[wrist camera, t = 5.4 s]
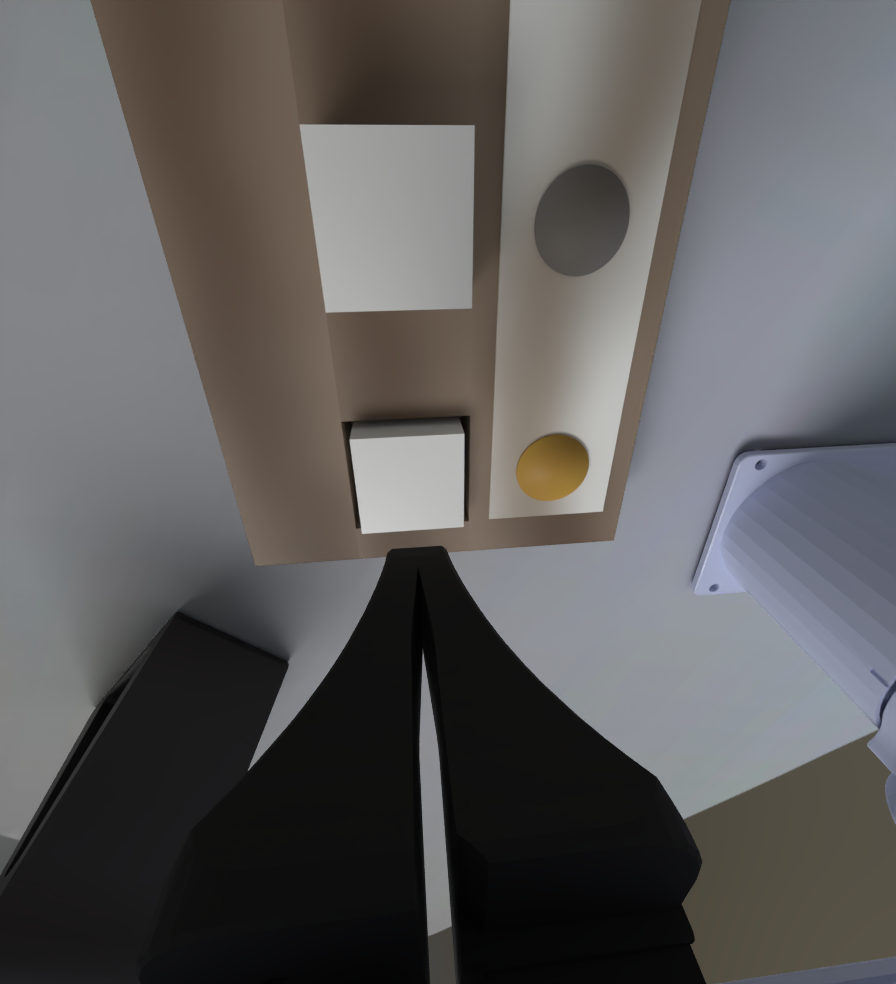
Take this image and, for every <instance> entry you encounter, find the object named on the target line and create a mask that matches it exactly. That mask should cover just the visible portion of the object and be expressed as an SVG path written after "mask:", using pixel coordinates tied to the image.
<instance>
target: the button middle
mask: <svg viewBox="0 0 896 984" xmlns="http://www.w3.org/2000/svg"><path fill="white" fill-rule="evenodd" d="M299 125H300V132H301V139H302V146H303V154H304V161H305V168H306V175H307V182H308V189H309V196H310V204H311V211H312V218H313V225H314V232H315V239H316V247H317V254H318V261H319V268H320V275H321V282H322V290H323V297H324V304H325V311H326V313H329V312H365V311H400V310H435V309H471V308H472V277H473V208H474V140H475V125H306V124H299Z"/></svg>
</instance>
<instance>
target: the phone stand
mask: <svg viewBox="0 0 896 984" xmlns="http://www.w3.org/2000/svg"><path fill="white" fill-rule="evenodd" d="M288 666H289V664H288V663H287V662H285V661H282V660H280V659H278V658H276V657H273V656H271V655H269V654H267V653H265V652H262V651H260V650H258V649H256V648H254V647H251V646H249V645H247V644H245V643H242V642H240V641H238V640H236V639H234V638H231V637H229V636H227V635H225V634H222V633H220V632H218V631H216V630H214V629H211V628H209V627H207V626H205V625H202V624H200V623H198V622H196V621H194V620H191V619H189V618H187V617H185V616H182V615H180V614H178V613H175V614H174V615H173V616H172V617H171V619H170V620H169V621H168V622H167V623H166V625H165V626H164V627H163V628H162V629H161V631H160V632H159V633H158V634H157V635H156V637H155V638H154V639H153V640H152V641H151V643H150V644H149V645H148V646H147V647H146V648H145V650H144V651H143V652H142V653H141V654H140V656H139V657H138V658H137V659H136V660H135V662H134V664H133V665H131V666H130V668H129V669H128V670H127V671H126V672H125V674H124V675H123V676H122V677H121V678H120V680H119V681H118V682H117V683H116V684H115V686H114V687H113V688H112V689H111V690H110V692H109V693H108V694H107V695H106V696H105V698H104V699H103V700H102V701H101V702H100V704H99V705H98V706H97V707H96V709H95V710H94V711H93V713H92V714H91V716H90V718H89V719H88V721H87V723H86V725H85V726H84V728H83V730H82V732H81V734H80V735H79V737H78V739H77V741H76V742H75V744H74V746H73V748H72V749H71V751H70V753H69V755H68V756H67V758H66V760H65V762H64V764H63V765H62V767H61V769H60V771H59V772H58V774H57V776H56V778H55V779H54V781H53V783H52V785H51V786H50V788H49V790H48V792H47V794H46V795H45V797H44V799H43V801H42V802H41V804H40V806H39V808H38V809H37V811H36V813H35V815H34V817H33V818H32V820H31V822H30V824H29V825H28V827H27V829H26V831H25V832H24V834H23V836H22V838H21V839H20V841H19V843H18V845H17V847H16V848H15V850H14V852H13V854H12V855H11V857H10V859H9V861H8V863H7V864H6V866H5V868H4V870H3V871H2V873H1V875H0V984H141V983H140V981H139V980H138V978H137V975H136V973H135V970H136V964H137V960H138V957H139V954H140V951H141V948H142V945H143V943H144V940H145V937H146V934H147V931H148V928H149V925H150V923H151V920H152V917H153V914H154V911H155V908H156V905H157V902H158V900H159V897H160V894H161V892H162V889H163V887H164V884H165V882H166V880H167V878H168V876H169V874H170V872H171V870H172V867H173V865H174V863H175V860H176V858H177V856H178V854H179V852H180V850H181V848H182V846H183V844H184V842H185V840H186V838H187V836H188V834H189V832H190V830H191V828H192V827H193V826H194V825H195V824H196V823H197V822H198V821H199V820H200V819H201V818H202V817H203V816H204V815H205V814H206V813H207V812H208V811H209V810H210V809H211V808H212V807H213V806H214V805H215V804H216V803H217V802H218V801H219V800H220V799H221V798H222V797H223V796H224V795H225V794H226V793H227V792H228V791H229V790H230V789H231V788H232V787H233V786H234V785H235V784H236V783H237V782H238V781H239V780H240V779H241V778H242V777H243V776H244V775H245V774H246V773H247V771H248V768H249V766H250V763H251V761H252V758H253V756H254V753H255V751H256V748H257V745H258V743H259V740H260V738H261V735H262V733H263V730H264V728H265V725H266V723H267V720H268V717H269V715H270V712H271V710H272V707H273V705H274V702H275V700H276V697H277V695H278V692H279V689H280V687H281V684H282V682H283V679H284V677H285V674H286V672H287V669H288Z"/></svg>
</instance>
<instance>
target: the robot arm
mask: <svg viewBox="0 0 896 984" xmlns="http://www.w3.org/2000/svg"><path fill="white" fill-rule="evenodd" d="M758 461H760V462H759V463H758V464H757V465H756V463H757V462H758ZM691 588H692V590H693V591H694V592H695V593H696V594H697V595H712V594H724V593H736V592H747V593H748V594H749V595H750V596H751V597H752V598H753V599H754V600H755V601H756V602H757V603H758V604H759V605H760V606H761V607H762V608H763V609H764V610H765V611H766V612H767V613H768V614H769V616H770V617H771V618H772V619H773V620H774V621H775V622H776V623H777V624H778V625H779V626H780V627H781V628H782V629H783V630H784V631H785V632H786V633H787V634H788V635H789V636H790V637H791V638H792V639H793V640H794V642H795V643H796V644H797V645H798V646H799V647H800V648H801V649H802V650H803V651H804V652H805V653H806V654H807V655H808V656H809V657H810V658H811V659H812V660H813V661H814V662H815V663H816V664H817V665H818V666H819V668H820V669H821V670H822V671H823V672H824V673H825V674H826V675H827V676H828V677H829V678H830V679H831V680H832V681H833V682H834V683H835V684H836V685H837V686H838V687H839V688H840V689H841V690H842V691H843V692H844V693H845V695H846V696H847V697H848V698H849V699H850V700H851V701H852V702H853V703H854V704H855V705H856V706H857V707H858V708H859V709H860V710H861V711H862V712H863V713H864V714H865V715H866V716H867V717H868V718H869V719H870V721H871V722H872V723H873V724H874V725H875V726H876V727H877V728H878V729H879V731H878V732H877V734H876V735H875V736H874V737H873V738H872V739H871V740H870V741H869V742H868V744H867V746H868V747H869V748H870V749H871V750H872V751H873V752H874V753H875V755H876V756H877V757H878V758H879V759H880V760H881V761H882V762H883V763H884V765H885V766H886V767H887V768H888V769H889V770H890V771H891V772H892V773H891V774H890V776H889V777H888V778H887V781H886V786H885V792H886V800H887V803H888V806H889V810H890V813H891V815H892V818H893V820H894V822H895V824H896V443H887V444H869V445H852V446H834V447H817V448H799V449H782V450H764V451H748V452H744V453H742V454H740V455H739V456H738V457H737V458H736V459H735V461H734V464H733V466H732V469H731V472H730V475H729V478H728V481H727V484H726V487H725V490H724V492H723V495H722V498H721V501H720V504H719V507H718V510H717V513H716V516H715V518H714V521H713V524H712V527H711V530H710V533H709V536H708V539H707V542H706V544H705V547H704V550H703V553H702V556H701V559H700V562H699V565H698V568H697V570H696V573H695V576H694V579H693V582H692V585H691ZM423 653H424V659H425V665H426V671H427V678H428V684H429V690H430V696H431V703H432V709H433V715H434V721H435V727H436V734H437V741H438V749H439V758H440V771H441V785H442V798H443V811H444V825H445V838H446V852H447V866H448V879H449V893H450V907H451V921H452V935H453V949H454V962H455V976H456V984H706V982H705V980H704V978H703V975H702V973H701V970H700V968H699V965H698V963H697V960H696V958H695V955H694V953H693V950H692V948H691V945H690V944H692V943H693V942H694V941H695V939H694V934H693V930H692V928H691V925H690V923H689V921H688V918H687V916H686V914H685V911H684V909H683V906H682V902H683V900H684V899H685V897H686V896H687V894H688V892H689V891H690V889H691V888H692V886H693V884H694V883H695V881H696V879H697V877H698V874H699V871H700V868H701V864H702V859H701V856H700V853H699V850H698V848H697V846H696V844H695V842H694V839H693V838H692V835H691V833H690V831H689V829H688V827H687V825H686V823H685V822H684V820H683V818H682V817H681V815H680V813H679V812H678V810H677V808H676V807H675V805H674V803H673V802H672V800H671V799H670V797H669V795H668V794H667V792H666V791H665V789H664V788H663V786H662V784H661V783H660V781H659V780H658V778H657V777H656V776H654V775H653V774H652V773H650V772H649V771H648V770H646V769H645V768H643V767H642V766H641V765H639V764H638V763H637V762H635V761H634V760H633V759H631V758H630V757H628V756H627V755H626V754H625V753H623V752H622V751H621V750H619V749H618V748H617V747H615V746H614V745H613V744H612V743H610V742H609V741H608V740H606V739H605V738H604V737H603V736H602V735H600V734H599V733H598V732H597V731H596V730H594V729H593V728H592V727H591V726H590V725H588V724H587V723H586V722H585V721H583V720H582V719H581V718H580V717H579V716H578V715H576V714H575V713H574V712H573V711H572V710H571V709H570V708H569V707H568V706H567V705H566V704H565V703H563V702H562V701H561V700H560V699H559V698H558V697H557V696H556V695H555V694H554V693H553V692H552V691H550V690H549V689H548V688H547V687H546V686H545V685H544V684H543V683H542V682H541V681H540V680H539V679H538V678H537V677H536V676H535V675H534V674H533V673H532V672H531V671H530V670H529V669H528V668H527V667H526V666H525V665H524V663H523V662H522V661H521V660H520V659H519V658H518V657H517V656H516V654H515V653H514V652H513V651H512V650H511V649H510V648H509V646H508V645H507V644H506V643H505V642H504V640H503V639H502V638H501V637H500V636H499V634H498V633H497V632H496V630H495V629H494V628H493V626H492V625H491V624H490V623H489V621H488V620H487V619H486V617H485V616H484V614H483V613H482V612H481V610H480V609H479V607H478V606H477V604H476V603H475V601H474V600H473V598H472V597H471V595H470V594H469V592H468V591H467V589H466V587H465V586H464V584H463V582H462V581H461V579H460V577H459V575H458V573H457V572H456V570H455V568H454V566H453V564H452V562H451V560H450V557H449V555H448V552H447V549H446V548H444V547H443V546H428V547H413V548H398V549H391V550H390V551H389V552H388V553H387V557H386V561H385V564H384V567H383V570H382V573H381V576H380V578H379V581H378V583H377V586H376V588H375V590H374V593H373V595H372V597H371V599H370V601H369V603H368V605H367V607H366V610H365V612H364V614H363V616H362V617H361V619H360V621H359V623H358V625H357V626H356V628H355V630H354V632H353V634H352V635H351V637H350V639H349V641H348V643H347V644H346V646H345V648H344V649H343V651H342V652H341V654H340V656H339V657H338V659H337V660H336V662H335V663H334V665H333V666H332V668H331V669H330V671H329V672H328V674H327V675H326V677H325V678H324V680H323V681H322V682H321V684H320V685H319V686H318V688H317V689H316V690H315V692H314V693H313V694H312V696H311V697H310V699H309V700H308V701H307V703H306V704H305V705H304V707H303V708H302V709H301V710H300V712H299V713H298V714H297V715H296V717H295V718H294V719H293V720H292V722H291V723H290V724H289V725H288V726H287V728H286V729H285V730H284V731H283V732H282V733H281V734H280V736H279V737H278V738H277V739H276V740H275V741H274V742H273V744H272V745H271V746H270V747H269V748H268V749H267V751H266V752H265V753H264V754H263V755H262V756H261V757H260V759H259V760H258V761H257V762H256V763H255V764H254V765H253V766H252V767H251V769H250V770H249V771H248V772H247V773H246V774H245V775H244V776H243V777H242V778H241V779H240V780H239V781H238V782H237V783H236V784H235V785H234V786H233V787H232V788H231V789H230V790H229V791H228V792H227V793H226V794H225V795H224V796H223V797H222V798H221V799H220V800H219V801H218V802H217V803H216V804H215V805H214V806H213V807H212V808H211V809H210V810H209V811H208V812H207V813H206V814H205V815H204V816H203V817H202V818H201V819H200V820H199V821H198V822H197V823H196V824H195V825H194V826H193V827H192V828H191V830H190V832H189V834H188V836H187V838H186V840H185V842H184V844H183V846H182V848H181V850H180V852H179V854H178V856H177V858H176V860H175V863H174V865H173V867H172V870H171V872H170V874H169V876H168V878H167V880H166V882H165V884H164V887H163V889H162V892H161V894H160V897H159V900H158V902H157V905H156V908H155V911H154V914H153V917H152V920H151V923H150V925H149V928H148V931H147V934H146V937H145V940H144V943H143V945H142V948H141V951H140V954H139V957H138V960H137V964H136V970H135V973H136V975H137V978H138V980H139V981H140V983H141V984H430V972H429V951H428V931H427V910H426V889H425V868H424V847H423V826H422V804H421V783H420V761H419V735H420V708H421V682H422V654H423ZM717 984H896V957H889V958H883V959H876V960H869V961H863V962H857V963H849V964H843V965H836V966H830V967H824V968H816V969H810V970H803V971H797V972H790V973H783V974H777V975H770V976H763V977H757V978H750V979H744V980H737V981H730V982H723V983H717Z"/></svg>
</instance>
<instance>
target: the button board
mask: <svg viewBox="0 0 896 984" xmlns="http://www.w3.org/2000/svg"><path fill="white" fill-rule="evenodd" d="M730 1H731V0H91V4H92V7H93V11H94V14H95V18H96V21H97V24H98V28H99V31H100V35H101V38H102V42H103V45H104V48H105V52H106V55H107V59H108V62H109V65H110V69H111V72H112V76H113V79H114V83H115V86H116V89H117V93H118V96H119V100H120V103H121V107H122V110H123V113H124V117H125V120H126V124H127V127H128V131H129V134H130V137H131V141H132V144H133V148H134V151H135V155H136V158H137V161H138V165H139V168H140V172H141V175H142V179H143V182H144V185H145V189H146V192H147V196H148V199H149V203H150V206H151V209H152V213H153V216H154V220H155V223H156V227H157V230H158V233H159V237H160V240H161V244H162V247H163V250H164V254H165V257H166V261H167V264H168V268H169V271H170V274H171V278H172V281H173V285H174V288H175V292H176V295H177V298H178V302H179V305H180V309H181V312H182V316H183V319H184V322H185V326H186V329H187V333H188V336H189V340H190V343H191V346H192V350H193V353H194V357H195V360H196V364H197V367H198V370H199V374H200V377H201V381H202V384H203V388H204V391H205V394H206V398H207V401H208V405H209V408H210V412H211V415H212V418H213V422H214V425H215V429H216V432H217V435H218V439H219V442H220V446H221V449H222V453H223V456H224V459H225V463H226V466H227V470H228V473H229V477H230V480H231V483H232V487H233V490H234V494H235V497H236V501H237V504H238V507H239V511H240V514H241V518H242V521H243V525H244V528H245V531H246V535H247V538H248V542H249V545H250V549H251V552H252V555H253V559H254V562H255V566H265V565H279V564H293V563H307V562H321V561H335V560H348V559H362V558H376V557H387V553H388V552H389V551H390V550H391V549H398V548H413V547H428V546H443V547H444V548H446V549H447V552H459V551H473V550H487V549H501V548H514V547H528V546H542V545H556V544H570V543H584V542H597V541H611V540H614V537H615V532H616V528H617V523H618V518H619V514H620V509H621V505H622V500H623V495H624V491H625V486H626V481H627V477H628V472H629V468H630V463H631V458H632V454H633V449H634V444H635V440H636V435H637V431H638V426H639V421H640V417H641V412H642V407H643V403H644V398H645V394H646V389H647V384H648V380H649V375H650V371H651V366H652V361H653V357H654V352H655V347H656V343H657V338H658V334H659V329H660V324H661V320H662V315H663V310H664V306H665V301H666V297H667V292H668V287H669V283H670V278H671V273H672V269H673V264H674V260H675V255H676V250H677V246H678V241H679V237H680V232H681V227H682V223H683V218H684V213H685V209H686V204H687V200H688V195H689V190H690V186H691V181H692V176H693V172H694V167H695V163H696V158H697V153H698V149H699V144H700V139H701V135H702V130H703V126H704V121H705V116H706V112H707V107H708V103H709V98H710V93H711V89H712V84H713V79H714V75H715V70H716V66H717V61H718V56H719V52H720V47H721V42H722V38H723V33H724V29H725V24H726V19H727V15H728V10H729V5H730ZM299 124H306V125H475V140H474V208H473V277H472V308H471V309H435V310H400V311H365V312H329V313H326V311H325V304H324V297H323V290H322V282H321V275H320V268H319V261H318V254H317V247H316V239H315V232H314V225H313V218H312V211H311V204H310V196H309V189H308V182H307V175H306V168H305V161H304V154H303V146H302V139H301V132H300V125H299ZM449 416H461V425H462V428H463V431H464V527H457V528H442V529H427V530H413V531H398V532H383V533H368V534H362V530H361V523H360V515H359V508H358V500H357V492H356V485H355V477H354V470H353V462H352V455H351V447H350V435H351V430H352V425H351V421H365V420H386V419H407V418H428V417H449Z"/></svg>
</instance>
